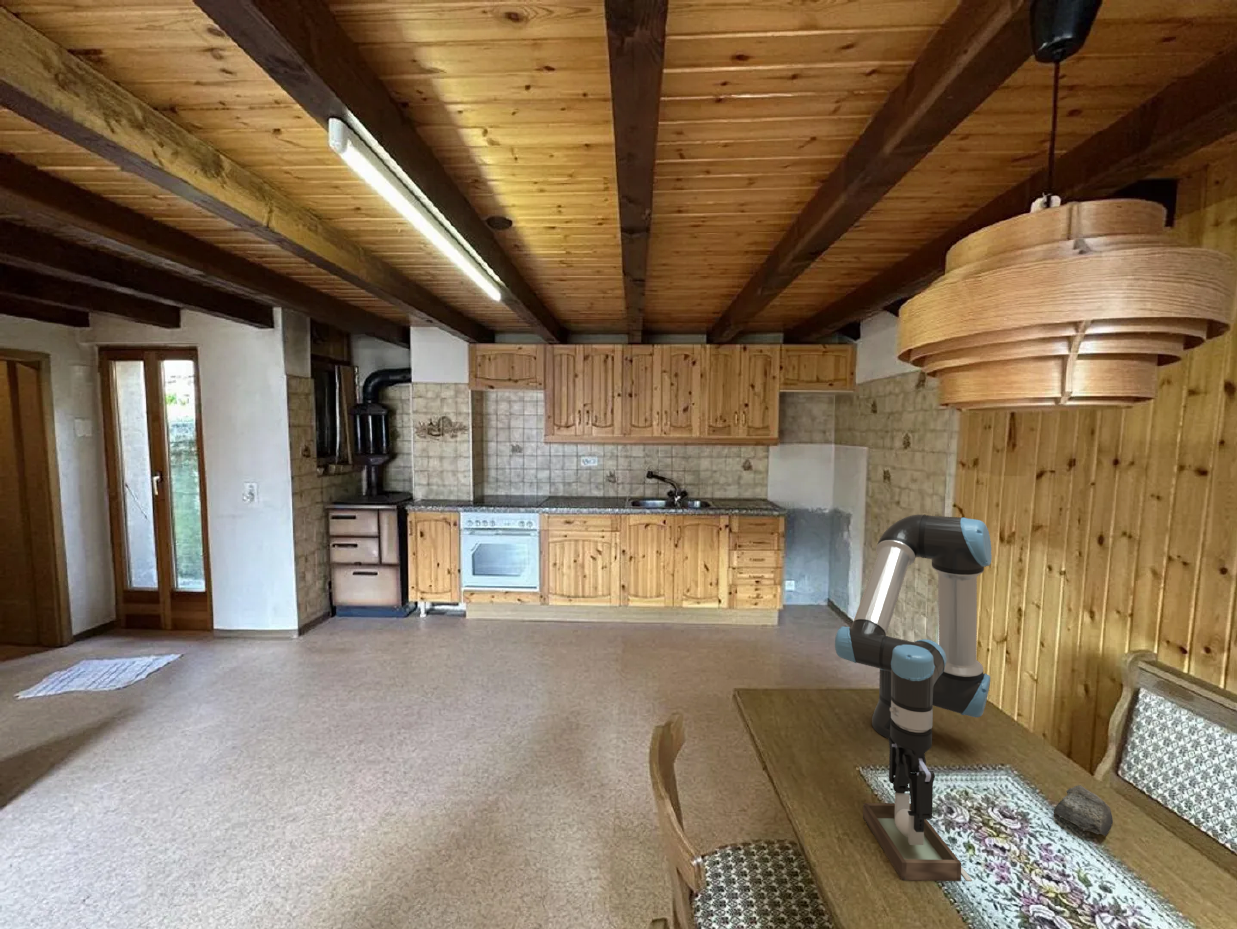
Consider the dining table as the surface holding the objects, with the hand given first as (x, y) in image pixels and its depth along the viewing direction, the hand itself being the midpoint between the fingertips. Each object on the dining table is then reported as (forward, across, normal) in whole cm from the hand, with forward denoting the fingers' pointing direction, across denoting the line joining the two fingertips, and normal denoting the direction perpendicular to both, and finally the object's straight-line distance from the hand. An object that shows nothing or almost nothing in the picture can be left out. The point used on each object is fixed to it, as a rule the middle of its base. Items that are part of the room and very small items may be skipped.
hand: (908, 833), depth 110 cm
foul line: (+3, 0, +7) cm, 8 cm away
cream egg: (+1, 0, 0) cm, 1 cm away
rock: (+3, -8, +42) cm, 43 cm away
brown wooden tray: (+3, 0, 0) cm, 3 cm away
